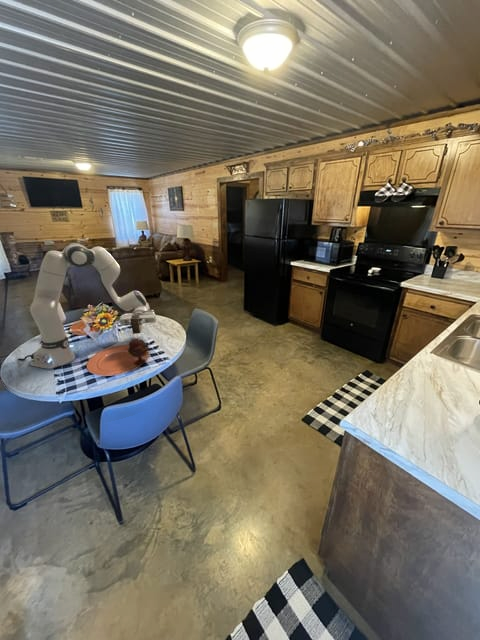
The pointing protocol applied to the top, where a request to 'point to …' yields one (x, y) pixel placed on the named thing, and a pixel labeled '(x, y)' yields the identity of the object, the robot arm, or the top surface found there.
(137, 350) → the ice cream bowl
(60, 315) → the champagne flute
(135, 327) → the eraser
